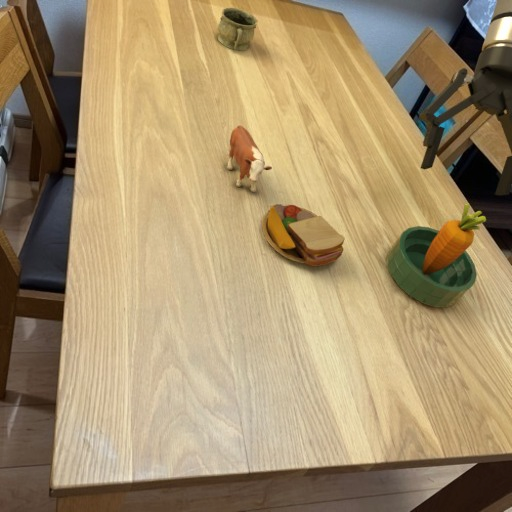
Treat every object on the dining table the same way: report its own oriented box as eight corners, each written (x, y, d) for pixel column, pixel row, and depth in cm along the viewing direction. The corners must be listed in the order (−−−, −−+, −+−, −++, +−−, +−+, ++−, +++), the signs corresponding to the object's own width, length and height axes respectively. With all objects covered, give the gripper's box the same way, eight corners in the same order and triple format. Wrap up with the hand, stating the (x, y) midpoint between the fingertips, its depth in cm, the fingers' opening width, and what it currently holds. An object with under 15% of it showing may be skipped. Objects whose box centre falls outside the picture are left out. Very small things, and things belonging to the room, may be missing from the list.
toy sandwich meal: (311, 207, 86) (321, 187, 83) (348, 267, 79) (361, 247, 76) (248, 213, 81) (256, 192, 77) (281, 277, 74) (292, 257, 70)
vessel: (252, 58, 117) (260, 32, 112) (216, 49, 114) (223, 23, 110) (248, 34, 124) (255, 9, 120) (214, 26, 122) (220, 0, 117)
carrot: (408, 259, 84) (459, 195, 73) (433, 265, 85) (488, 203, 74) (413, 281, 81) (467, 218, 70) (440, 287, 82) (497, 226, 71)
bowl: (453, 259, 89) (469, 241, 85) (463, 319, 79) (483, 301, 76) (384, 236, 87) (397, 216, 84) (386, 294, 78) (402, 275, 74)
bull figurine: (238, 206, 81) (252, 168, 75) (220, 153, 89) (231, 116, 83) (262, 207, 83) (277, 170, 77) (243, 155, 91) (255, 118, 85)
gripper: (556, 88, 84) (518, 206, 85) (424, 37, 81) (385, 159, 82) (590, 74, 77) (548, 203, 77) (446, 18, 74) (403, 152, 74)
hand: (464, 181), depth 79 cm, fingers open, 13 cm apart
